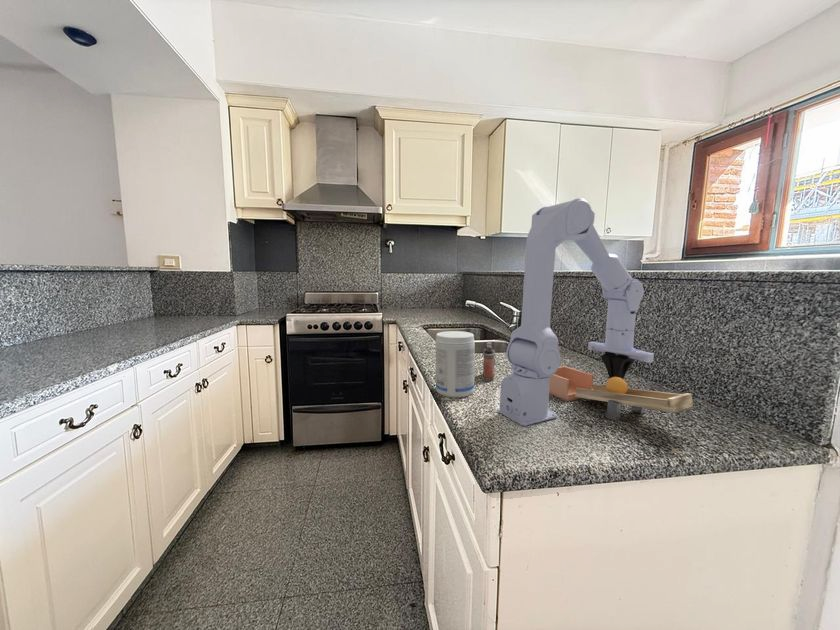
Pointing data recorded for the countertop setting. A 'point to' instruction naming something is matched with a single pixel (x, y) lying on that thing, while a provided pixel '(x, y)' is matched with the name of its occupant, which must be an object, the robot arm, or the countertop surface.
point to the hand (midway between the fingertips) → (615, 384)
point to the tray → (569, 383)
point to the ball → (616, 385)
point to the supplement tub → (455, 363)
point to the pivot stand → (619, 410)
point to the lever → (639, 398)
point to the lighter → (488, 362)
